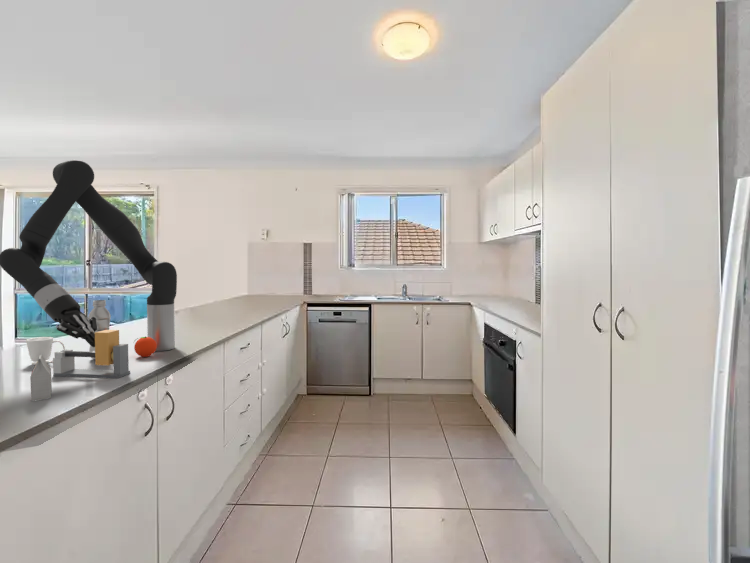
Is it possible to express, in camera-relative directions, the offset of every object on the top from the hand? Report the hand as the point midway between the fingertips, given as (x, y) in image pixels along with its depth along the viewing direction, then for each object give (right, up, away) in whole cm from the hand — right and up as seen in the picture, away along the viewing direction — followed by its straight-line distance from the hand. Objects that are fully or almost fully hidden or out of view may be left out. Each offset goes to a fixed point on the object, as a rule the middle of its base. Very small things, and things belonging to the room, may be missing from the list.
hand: (97, 344), depth 122 cm
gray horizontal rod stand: (-2, -9, +1) cm, 9 cm away
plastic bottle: (-12, -8, +20) cm, 25 cm away
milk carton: (-1, -10, -19) cm, 21 cm away
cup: (-26, -8, +14) cm, 31 cm away
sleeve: (+3, -5, 0) cm, 6 cm away
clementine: (0, -8, +24) cm, 25 cm away
